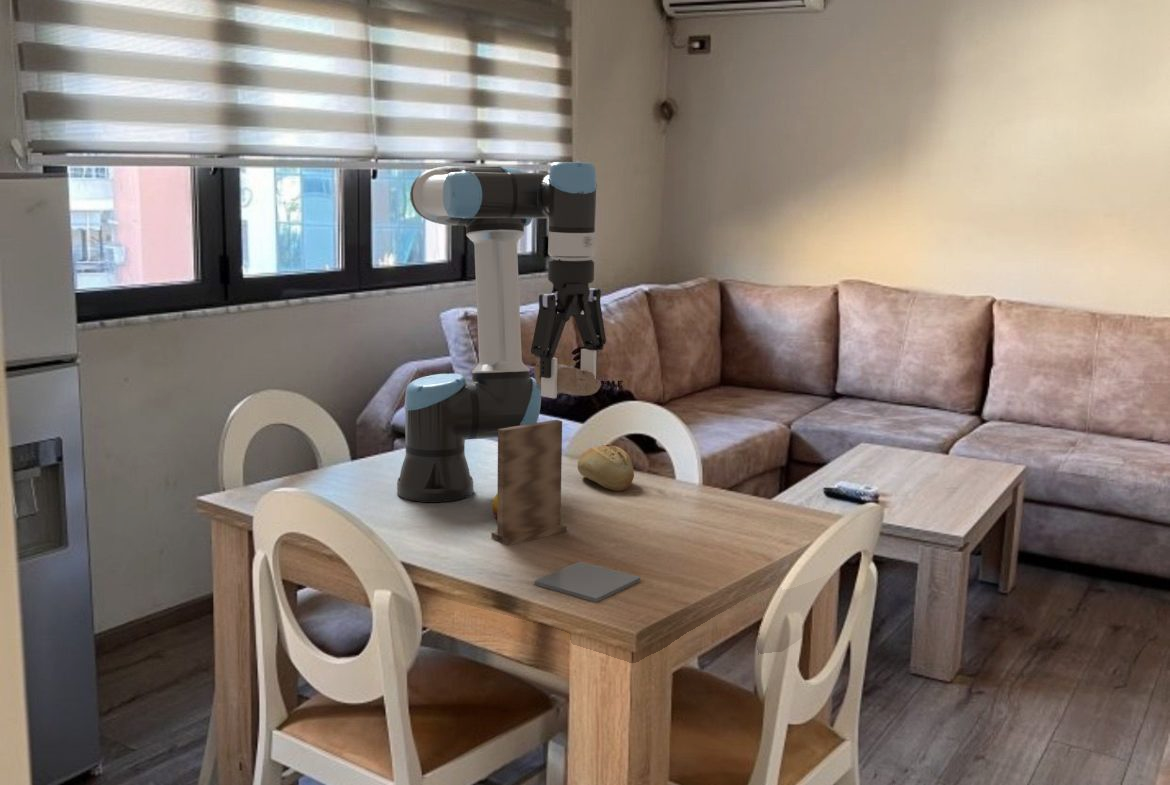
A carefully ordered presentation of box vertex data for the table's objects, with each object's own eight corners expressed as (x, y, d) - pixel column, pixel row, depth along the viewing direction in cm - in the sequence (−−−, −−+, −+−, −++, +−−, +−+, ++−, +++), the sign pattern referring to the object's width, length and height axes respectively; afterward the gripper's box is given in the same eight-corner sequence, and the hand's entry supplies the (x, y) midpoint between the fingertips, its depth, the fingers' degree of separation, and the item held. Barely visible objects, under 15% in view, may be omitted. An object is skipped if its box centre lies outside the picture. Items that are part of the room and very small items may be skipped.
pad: (534, 584, 185) (534, 580, 185) (580, 564, 194) (580, 561, 194) (596, 602, 178) (596, 598, 178) (640, 580, 187) (640, 577, 187)
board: (508, 545, 203) (509, 432, 199) (491, 537, 207) (492, 427, 203) (566, 531, 212) (568, 422, 208) (548, 524, 215) (550, 417, 212)
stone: (559, 395, 189) (562, 364, 189) (527, 388, 199) (530, 359, 199) (607, 398, 194) (610, 368, 193) (572, 391, 203) (575, 363, 203)
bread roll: (603, 472, 253) (604, 436, 251) (645, 489, 241) (647, 451, 239) (566, 478, 247) (567, 441, 246) (608, 495, 235) (609, 457, 234)
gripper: (546, 263, 180) (544, 405, 184) (629, 256, 198) (625, 385, 202) (508, 260, 185) (507, 399, 189) (593, 253, 202) (590, 380, 207)
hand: (568, 392), depth 196 cm, fingers closed on stone, 10 cm apart
